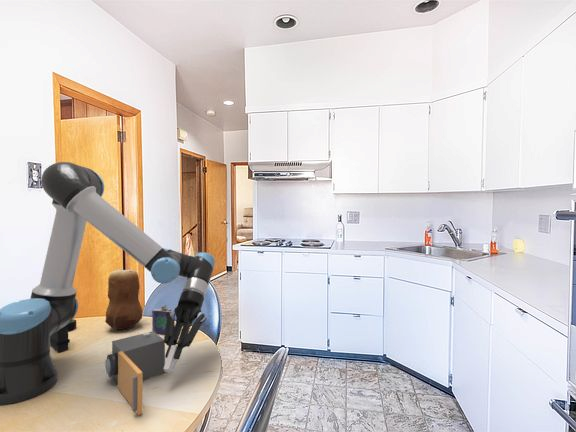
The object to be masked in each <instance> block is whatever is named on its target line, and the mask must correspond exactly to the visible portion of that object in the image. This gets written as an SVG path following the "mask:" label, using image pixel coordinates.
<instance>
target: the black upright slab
mask: <svg viewBox="0 0 576 432" xmlns="http://www.w3.org/2000/svg"><path fill="white" fill-rule="evenodd" d="M68 326H69V323H68V324H67V325H66V326H64V327H63V328H61V329H60V330H58V331H57V332H56V333H54V334H53V335H51V336H50V347H52V348H53V349H54V350H55V351H56V352H57V353H62V352H66V351H68V350H69V344H71V339H70V338H69V331H68Z"/></svg>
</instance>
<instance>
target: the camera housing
mask: <svg viewBox="0 0 576 432" xmlns="http://www.w3.org/2000/svg"><path fill="white" fill-rule="evenodd" d="M111 343H112V344H111V353H110V354H107V355H106V359H105V362H104V365H105V366H104V367H105V371H106V374H107V375H108V377H110V378H111V377H113V378H114V379H115V381H116V382H117V383H118V352H120V351H123V352H124V354H125V355H126V356H127V357H128V358H129V359H130V360H131V361H132V362H133V363H134V364H135V365H136V366H137V367H138V368H139V369H140V370H141V371H142V372H143V373H142V381H145V380H147V379H151V378H154V377H157V376H159V375H162V374H165V372H166V371H165V370H164V369H163V368H164V366H165V363H166V357H165V355H166V343H165V342H164V337H162V336H160V335H159V334H156V333H155V332H153V331H152V330H151V331H147V332H142V333H140V334H136V335H132V336H127V337H123V338H119V339H116V340H112V341H111Z"/></svg>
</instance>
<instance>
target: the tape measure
mask: <svg viewBox="0 0 576 432" xmlns="http://www.w3.org/2000/svg"><path fill="white" fill-rule="evenodd" d="M75 328H77V320H76V319H75V318H73V319H72V320H71V321H70V322H69V326H68V332H69V331H71V330H74V329H75Z"/></svg>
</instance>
